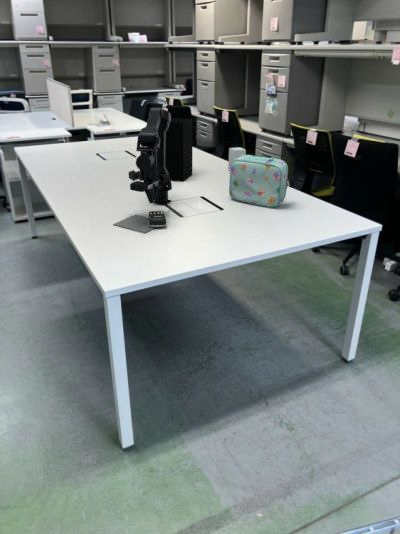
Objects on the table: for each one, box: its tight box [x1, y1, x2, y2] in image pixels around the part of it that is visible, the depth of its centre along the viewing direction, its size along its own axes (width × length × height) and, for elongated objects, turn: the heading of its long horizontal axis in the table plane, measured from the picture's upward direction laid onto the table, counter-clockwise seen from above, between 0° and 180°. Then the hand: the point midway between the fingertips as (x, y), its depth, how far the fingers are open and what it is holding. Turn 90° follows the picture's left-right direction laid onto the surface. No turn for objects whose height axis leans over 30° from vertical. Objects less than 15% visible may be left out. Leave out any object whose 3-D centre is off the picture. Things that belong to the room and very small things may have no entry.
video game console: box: [165, 117, 194, 182], centre depth 231 cm, size 15×15×30 cm
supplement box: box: [227, 146, 247, 170], centre depth 250 cm, size 7×7×13 cm
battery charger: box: [147, 210, 167, 229], centre depth 173 cm, size 7×4×11 cm
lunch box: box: [228, 154, 290, 208], centre depth 196 cm, size 27×10×21 cm, turn 59°
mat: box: [112, 213, 168, 234], centre depth 174 cm, size 14×16×1 cm
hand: (151, 203), depth 177 cm, fingers closed
